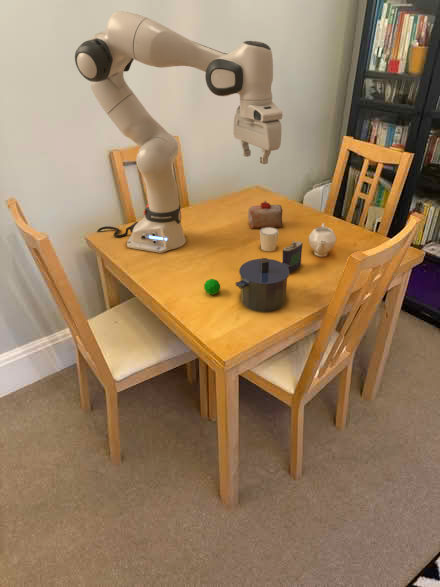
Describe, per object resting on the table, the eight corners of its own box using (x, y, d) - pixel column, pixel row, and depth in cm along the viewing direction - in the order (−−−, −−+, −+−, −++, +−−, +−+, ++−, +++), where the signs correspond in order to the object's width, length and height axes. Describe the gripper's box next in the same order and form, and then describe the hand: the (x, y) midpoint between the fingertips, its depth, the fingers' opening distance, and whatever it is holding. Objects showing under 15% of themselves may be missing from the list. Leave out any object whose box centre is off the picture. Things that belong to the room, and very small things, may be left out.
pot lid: (229, 271, 125) (229, 257, 123) (266, 257, 132) (267, 244, 130) (260, 292, 115) (261, 278, 113) (299, 276, 122) (300, 262, 119)
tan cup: (276, 252, 153) (277, 235, 149) (258, 251, 154) (258, 234, 150) (278, 244, 159) (279, 227, 155) (260, 243, 160) (260, 226, 156)
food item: (249, 230, 170) (249, 207, 165) (247, 222, 177) (247, 199, 171) (282, 229, 170) (284, 205, 165) (280, 221, 177) (281, 198, 171)
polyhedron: (210, 299, 129) (209, 286, 126) (201, 292, 132) (200, 279, 130) (223, 293, 131) (223, 280, 129) (214, 287, 135) (213, 274, 132)
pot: (224, 299, 129) (224, 272, 123) (271, 279, 138) (273, 254, 132) (252, 320, 119) (253, 292, 114) (301, 298, 128) (304, 271, 123)
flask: (296, 263, 146) (298, 235, 140) (303, 266, 145) (306, 238, 139) (279, 273, 141) (281, 244, 135) (286, 276, 139) (288, 247, 133)
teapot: (334, 242, 159) (337, 219, 154) (334, 268, 143) (337, 243, 138) (308, 240, 161) (310, 217, 156) (305, 265, 145) (308, 241, 140)
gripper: (227, 105, 123) (228, 153, 130) (266, 116, 108) (264, 170, 115) (246, 103, 125) (246, 150, 133) (286, 113, 110) (283, 166, 118)
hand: (255, 159), depth 124 cm, fingers open, 8 cm apart
